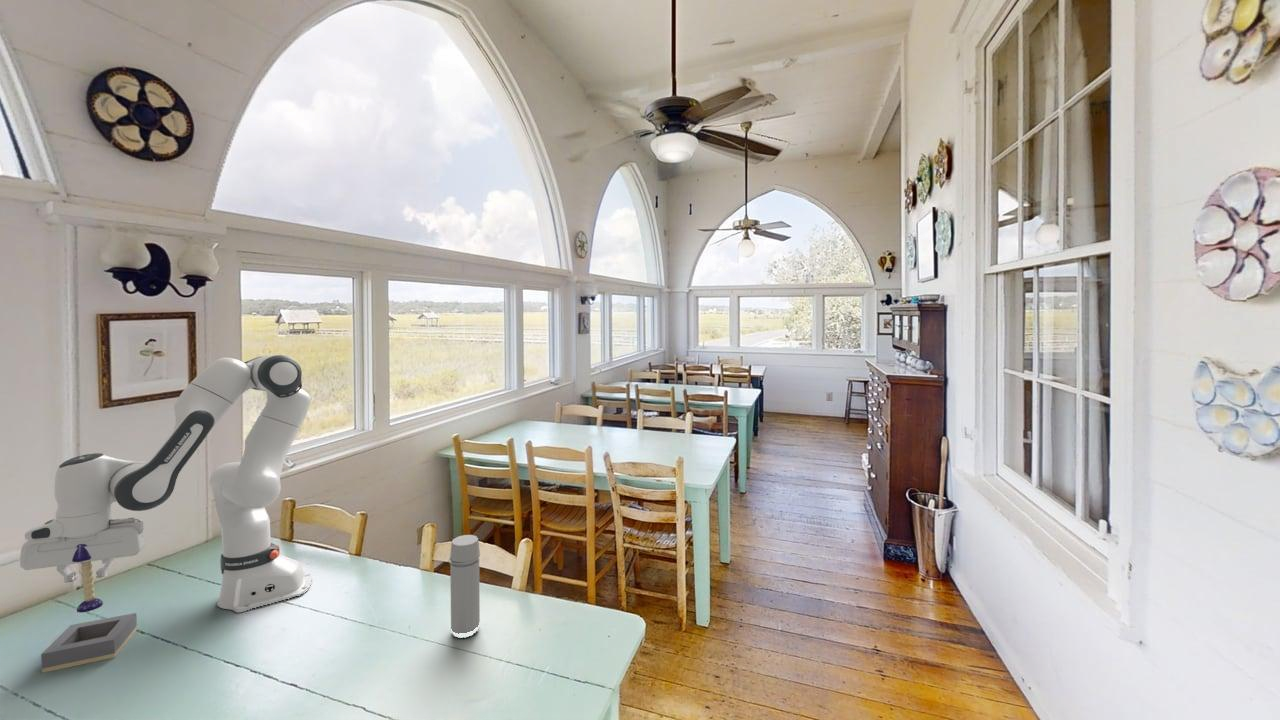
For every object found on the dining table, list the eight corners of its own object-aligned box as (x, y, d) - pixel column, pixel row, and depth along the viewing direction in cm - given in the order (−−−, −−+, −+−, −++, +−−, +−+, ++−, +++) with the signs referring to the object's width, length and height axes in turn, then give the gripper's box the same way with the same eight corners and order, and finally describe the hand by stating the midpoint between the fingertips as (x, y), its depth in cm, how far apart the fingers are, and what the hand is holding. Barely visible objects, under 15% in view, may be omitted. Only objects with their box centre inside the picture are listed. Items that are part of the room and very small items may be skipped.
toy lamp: (82, 615, 116) (79, 546, 115) (67, 612, 117) (64, 544, 116) (107, 604, 121) (105, 538, 120) (93, 601, 122) (91, 535, 121)
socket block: (137, 629, 128) (136, 612, 128) (114, 657, 118) (113, 639, 118) (71, 642, 123) (70, 625, 123) (42, 672, 112) (41, 654, 112)
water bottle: (486, 630, 131) (486, 539, 129) (459, 645, 125) (458, 549, 123) (467, 616, 137) (466, 529, 135) (440, 630, 131) (439, 538, 129)
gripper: (148, 512, 126) (150, 564, 126) (31, 524, 116) (34, 581, 117) (137, 520, 120) (139, 575, 121) (13, 534, 111) (16, 594, 111)
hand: (86, 578), depth 119 cm, fingers closed on toy lamp, 4 cm apart
